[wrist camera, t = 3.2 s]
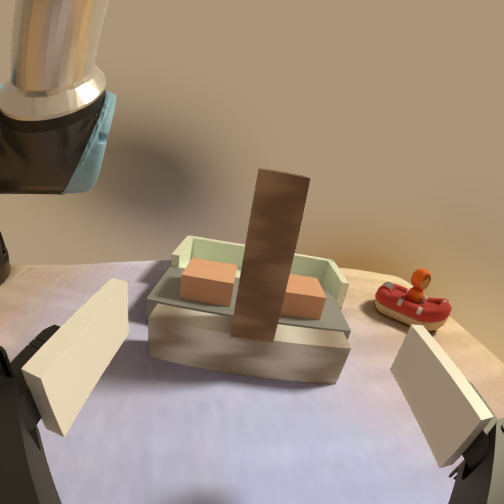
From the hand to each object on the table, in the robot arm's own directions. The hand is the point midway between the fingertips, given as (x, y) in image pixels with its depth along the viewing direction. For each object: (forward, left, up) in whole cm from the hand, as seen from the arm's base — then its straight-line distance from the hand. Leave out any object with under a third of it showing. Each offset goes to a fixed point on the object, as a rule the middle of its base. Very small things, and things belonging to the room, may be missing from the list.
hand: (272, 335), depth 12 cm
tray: (+1, +27, -9) cm, 28 cm away
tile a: (-5, +17, -7) cm, 19 cm away
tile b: (+4, +17, -7) cm, 19 cm away
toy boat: (+23, +23, -10) cm, 34 cm away
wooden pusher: (0, +9, -10) cm, 13 cm away
